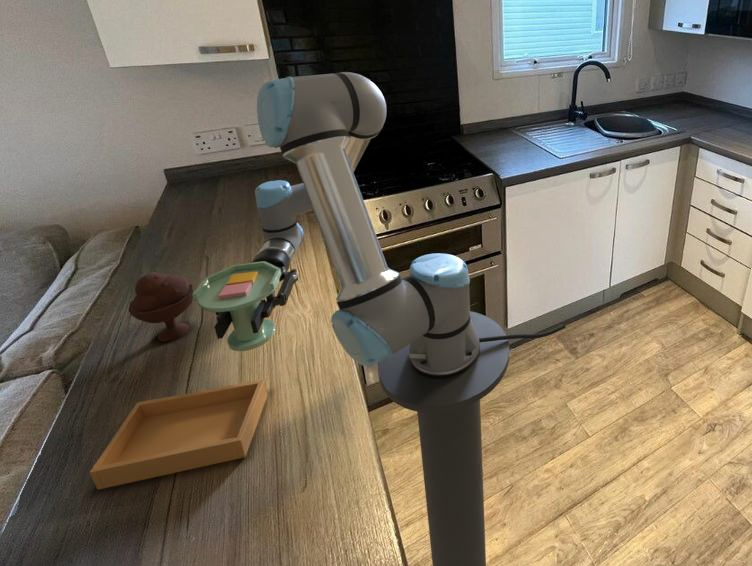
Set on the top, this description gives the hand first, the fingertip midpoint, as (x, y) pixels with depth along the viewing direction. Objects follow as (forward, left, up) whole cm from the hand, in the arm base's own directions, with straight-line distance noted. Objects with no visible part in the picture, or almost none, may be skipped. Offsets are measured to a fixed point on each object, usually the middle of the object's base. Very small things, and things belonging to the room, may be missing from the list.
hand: (236, 329), depth 80 cm
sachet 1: (0, -7, +6) cm, 9 cm away
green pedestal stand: (0, -5, -6) cm, 8 cm away
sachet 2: (0, -3, +6) cm, 7 cm away
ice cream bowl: (+21, -20, -13) cm, 32 cm away
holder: (+6, +10, -13) cm, 17 cm away
